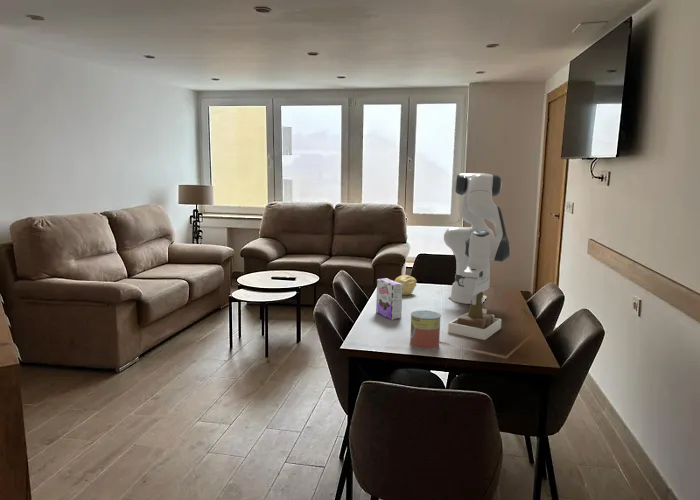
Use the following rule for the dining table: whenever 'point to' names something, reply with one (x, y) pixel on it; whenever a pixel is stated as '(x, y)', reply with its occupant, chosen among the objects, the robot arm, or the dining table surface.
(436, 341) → the canned food
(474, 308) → the olive waisted cylinder
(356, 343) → the dining table surface
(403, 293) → the beige rounded lump
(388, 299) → the candy box
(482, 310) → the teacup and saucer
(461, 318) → the walnut block
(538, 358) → the dining table surface
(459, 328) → the tote
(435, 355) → the dining table surface
